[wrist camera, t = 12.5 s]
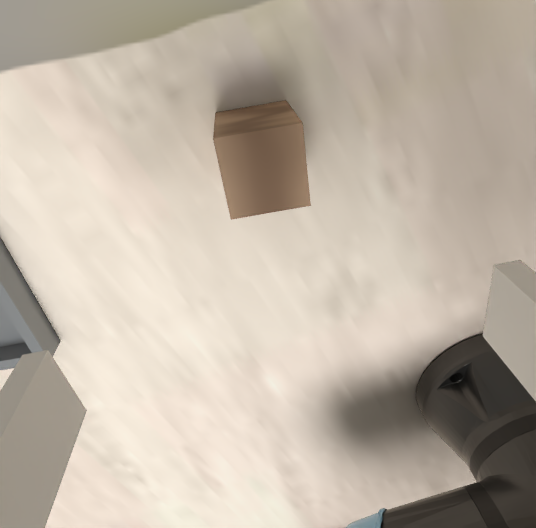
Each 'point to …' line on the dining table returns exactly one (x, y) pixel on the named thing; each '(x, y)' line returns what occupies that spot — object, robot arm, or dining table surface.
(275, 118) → the walnut block
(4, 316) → the tray
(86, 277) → the dining table surface
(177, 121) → the dining table surface
